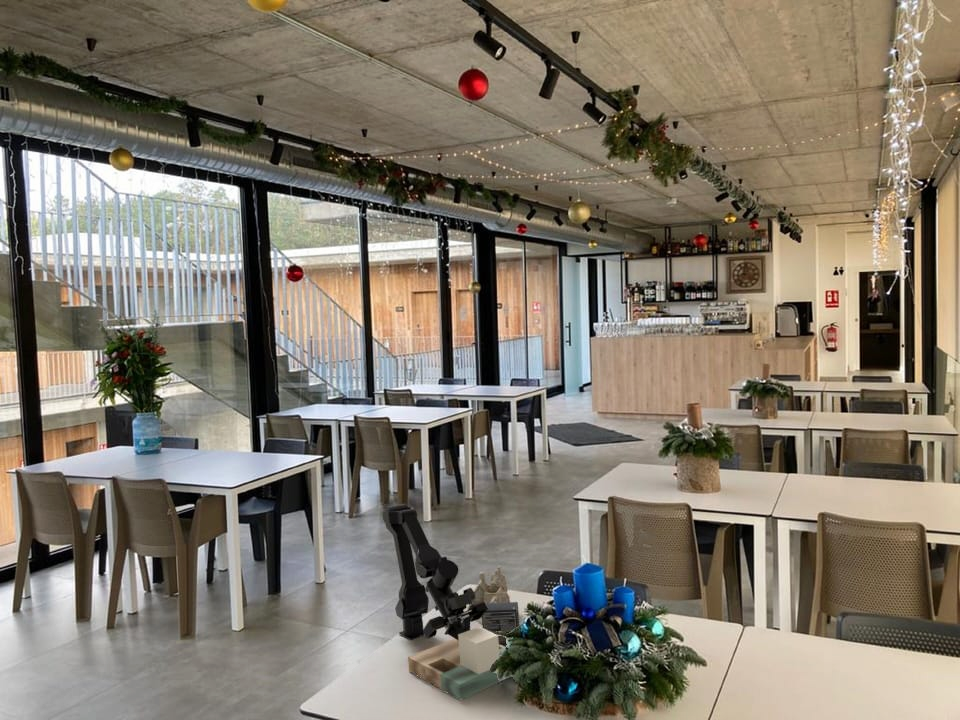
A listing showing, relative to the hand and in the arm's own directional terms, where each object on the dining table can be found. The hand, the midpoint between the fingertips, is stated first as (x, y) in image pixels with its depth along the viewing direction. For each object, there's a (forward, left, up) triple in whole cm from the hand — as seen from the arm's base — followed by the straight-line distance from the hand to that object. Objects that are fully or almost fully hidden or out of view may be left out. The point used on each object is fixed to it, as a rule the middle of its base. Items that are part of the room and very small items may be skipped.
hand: (471, 647), depth 201 cm
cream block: (+4, -1, -3) cm, 5 cm away
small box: (-10, +19, -7) cm, 23 cm away
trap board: (-3, 0, -7) cm, 8 cm away
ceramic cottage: (-28, +29, -8) cm, 41 cm away
